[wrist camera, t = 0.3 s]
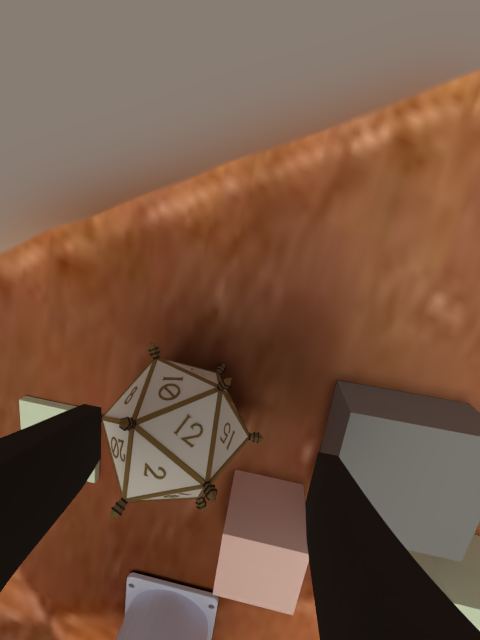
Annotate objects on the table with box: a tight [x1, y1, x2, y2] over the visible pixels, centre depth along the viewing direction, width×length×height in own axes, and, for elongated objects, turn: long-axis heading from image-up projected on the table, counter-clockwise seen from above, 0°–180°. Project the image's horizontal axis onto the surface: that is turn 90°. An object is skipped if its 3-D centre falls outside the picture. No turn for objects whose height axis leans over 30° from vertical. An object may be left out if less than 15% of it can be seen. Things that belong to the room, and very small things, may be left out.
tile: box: [19, 396, 100, 483], centre depth 22 cm, size 6×6×1 cm
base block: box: [320, 380, 480, 562], centre depth 18 cm, size 8×8×4 cm
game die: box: [101, 343, 264, 520], centre depth 16 cm, size 9×8×10 cm
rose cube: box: [212, 470, 309, 615], centre depth 20 cm, size 5×5×5 cm
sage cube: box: [408, 535, 480, 631], centre depth 19 cm, size 5×5×5 cm
